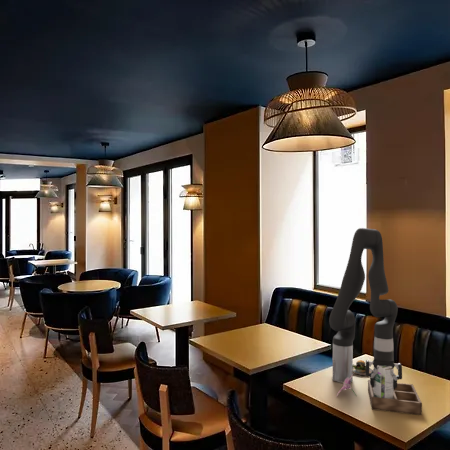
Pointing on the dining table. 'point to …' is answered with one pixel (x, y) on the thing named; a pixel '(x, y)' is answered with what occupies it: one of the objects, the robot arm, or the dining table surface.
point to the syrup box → (383, 382)
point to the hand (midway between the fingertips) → (383, 387)
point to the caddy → (398, 400)
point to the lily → (347, 384)
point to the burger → (360, 368)
